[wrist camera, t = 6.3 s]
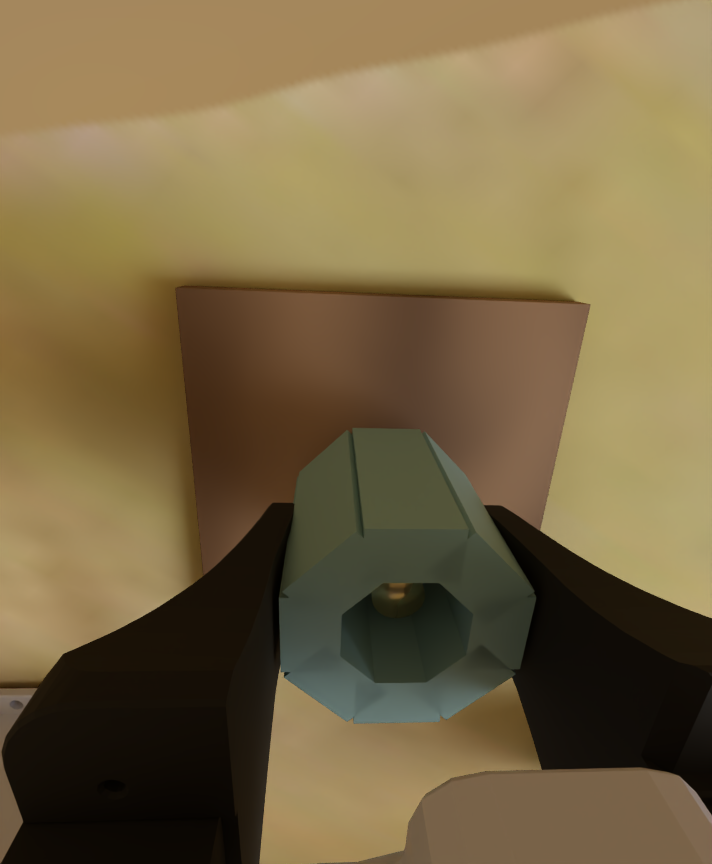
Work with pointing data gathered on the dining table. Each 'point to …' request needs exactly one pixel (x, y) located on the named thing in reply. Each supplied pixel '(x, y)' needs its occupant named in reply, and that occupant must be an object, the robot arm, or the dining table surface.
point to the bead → (397, 563)
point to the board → (369, 390)
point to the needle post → (398, 599)
